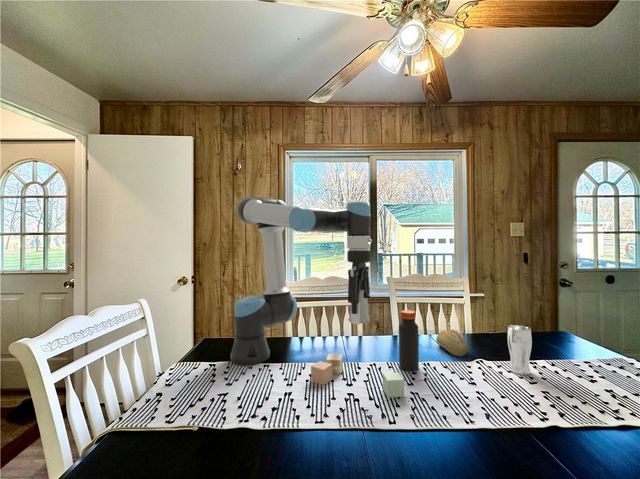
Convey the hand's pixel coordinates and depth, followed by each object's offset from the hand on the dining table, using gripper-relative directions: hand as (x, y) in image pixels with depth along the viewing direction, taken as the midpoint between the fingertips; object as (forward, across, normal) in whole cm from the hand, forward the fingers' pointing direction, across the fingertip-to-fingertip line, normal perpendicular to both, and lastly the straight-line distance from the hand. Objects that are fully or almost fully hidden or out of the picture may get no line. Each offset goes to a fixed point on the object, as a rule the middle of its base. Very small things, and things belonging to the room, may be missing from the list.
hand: (359, 320), depth 97 cm
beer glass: (+20, +31, -47) cm, 60 cm away
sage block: (+20, -2, -11) cm, 23 cm away
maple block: (+20, +4, +11) cm, 23 cm away
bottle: (+20, +18, -12) cm, 30 cm away
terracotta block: (+20, -4, +12) cm, 24 cm away
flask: (0, 0, 0) cm, 0 cm away
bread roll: (+20, +42, -25) cm, 53 cm away
